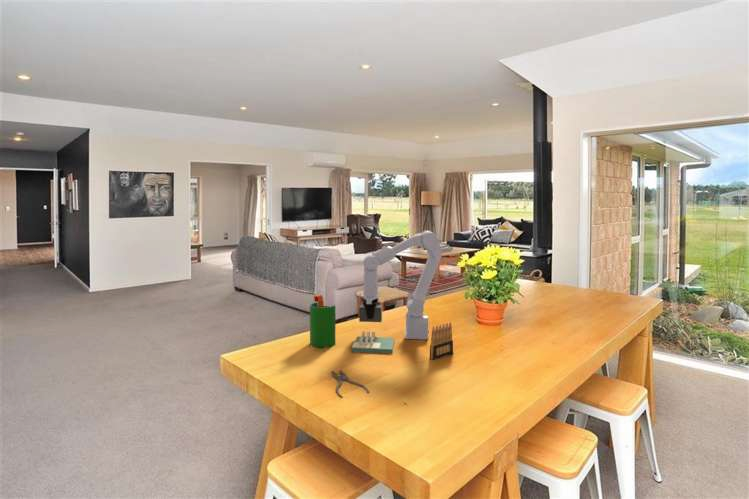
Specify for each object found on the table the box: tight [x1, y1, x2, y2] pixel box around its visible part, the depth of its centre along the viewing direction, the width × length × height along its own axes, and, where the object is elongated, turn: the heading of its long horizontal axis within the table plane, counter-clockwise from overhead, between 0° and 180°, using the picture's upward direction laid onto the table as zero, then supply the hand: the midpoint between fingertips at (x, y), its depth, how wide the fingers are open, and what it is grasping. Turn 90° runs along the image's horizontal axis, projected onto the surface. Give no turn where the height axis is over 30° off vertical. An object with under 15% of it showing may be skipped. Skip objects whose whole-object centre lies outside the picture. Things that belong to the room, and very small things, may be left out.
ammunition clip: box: [429, 321, 454, 361], centre depth 166 cm, size 11×2×12 cm, turn 129°
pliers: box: [331, 369, 370, 399], centre depth 143 cm, size 10×1×20 cm
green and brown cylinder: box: [309, 294, 336, 349], centre depth 179 cm, size 10×9×20 cm
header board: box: [351, 331, 395, 354], centre depth 177 cm, size 15×14×4 cm
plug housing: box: [358, 304, 383, 323], centre depth 188 cm, size 9×4×6 cm, turn 85°
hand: (370, 317), depth 189 cm, fingers closed on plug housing, 4 cm apart
